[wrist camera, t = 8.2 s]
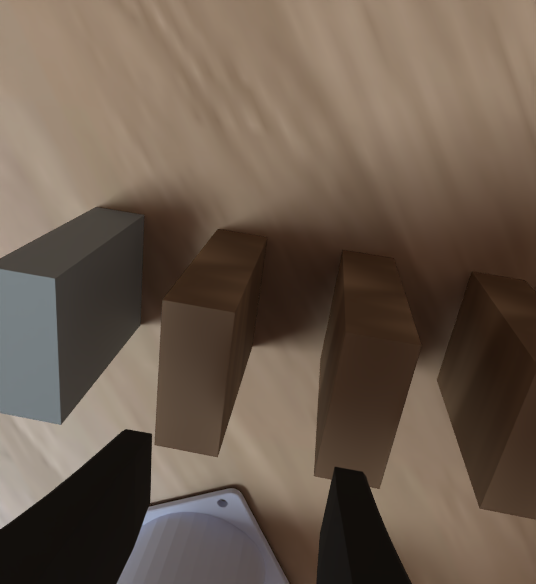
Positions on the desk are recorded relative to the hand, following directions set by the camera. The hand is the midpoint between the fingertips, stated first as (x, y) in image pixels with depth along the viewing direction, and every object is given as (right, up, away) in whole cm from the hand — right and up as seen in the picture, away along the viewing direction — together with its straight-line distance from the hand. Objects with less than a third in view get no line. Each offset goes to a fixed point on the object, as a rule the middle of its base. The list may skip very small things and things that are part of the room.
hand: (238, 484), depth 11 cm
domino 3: (+4, +3, +9) cm, 11 cm away
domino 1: (-6, +5, +10) cm, 13 cm away
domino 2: (-1, +4, +10) cm, 11 cm away
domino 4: (+9, +3, +9) cm, 13 cm away
